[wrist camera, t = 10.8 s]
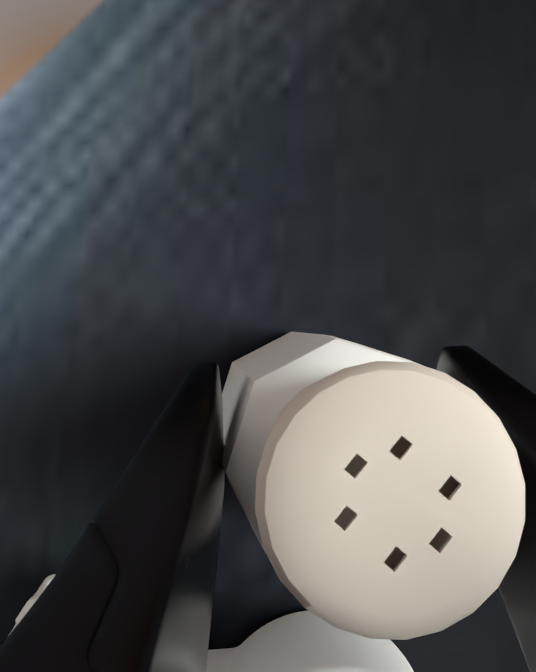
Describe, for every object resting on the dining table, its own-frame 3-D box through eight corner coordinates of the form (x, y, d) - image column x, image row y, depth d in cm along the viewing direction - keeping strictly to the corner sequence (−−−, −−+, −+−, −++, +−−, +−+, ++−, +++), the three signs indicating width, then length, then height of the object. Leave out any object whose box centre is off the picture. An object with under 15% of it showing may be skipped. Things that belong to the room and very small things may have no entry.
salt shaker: (175, 429, 16) (1, 540, 5) (287, 297, 16) (358, 126, 5) (310, 544, 16) (442, 930, 5) (419, 407, 16) (774, 466, 5)
